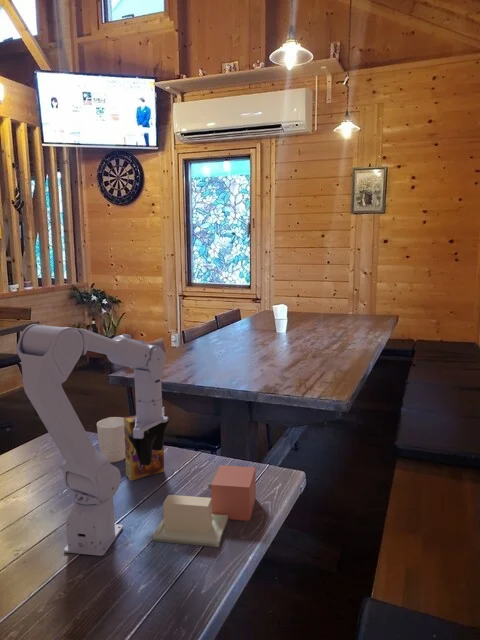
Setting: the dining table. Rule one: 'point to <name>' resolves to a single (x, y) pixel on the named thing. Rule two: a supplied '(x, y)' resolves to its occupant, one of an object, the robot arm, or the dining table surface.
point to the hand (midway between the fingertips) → (151, 456)
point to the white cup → (112, 438)
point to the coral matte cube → (233, 491)
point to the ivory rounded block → (187, 514)
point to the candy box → (132, 462)
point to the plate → (194, 534)
